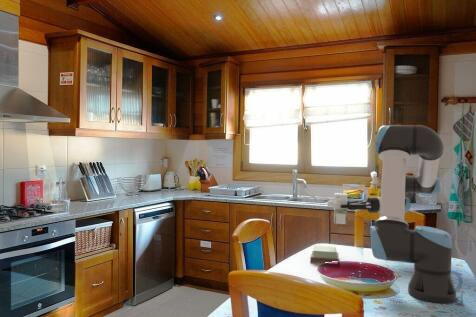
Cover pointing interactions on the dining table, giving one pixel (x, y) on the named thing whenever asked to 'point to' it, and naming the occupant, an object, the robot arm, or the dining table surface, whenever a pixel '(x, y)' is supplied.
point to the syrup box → (340, 214)
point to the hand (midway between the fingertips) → (330, 204)
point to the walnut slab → (322, 259)
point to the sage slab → (325, 252)
